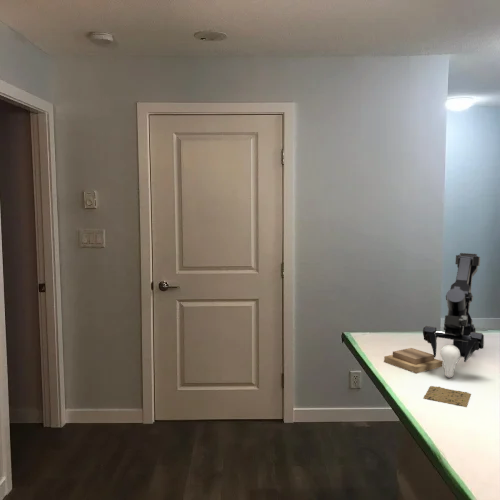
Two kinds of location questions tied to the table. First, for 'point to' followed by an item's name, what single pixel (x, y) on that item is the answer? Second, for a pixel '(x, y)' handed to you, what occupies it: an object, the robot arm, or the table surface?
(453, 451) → the table surface
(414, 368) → the plinth
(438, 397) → the cookie
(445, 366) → the lightbulb
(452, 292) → the robot arm
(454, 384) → the table surface
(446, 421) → the table surface
